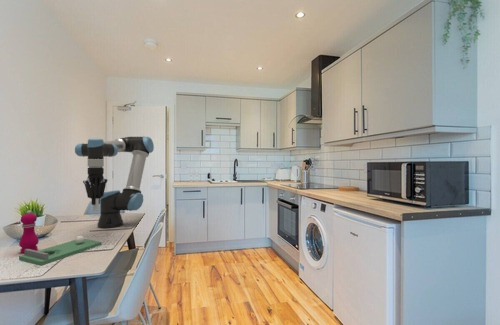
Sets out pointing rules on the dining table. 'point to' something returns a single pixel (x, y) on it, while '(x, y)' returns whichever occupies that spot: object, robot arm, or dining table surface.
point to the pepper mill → (28, 232)
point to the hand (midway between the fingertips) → (95, 210)
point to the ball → (79, 239)
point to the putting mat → (57, 252)
